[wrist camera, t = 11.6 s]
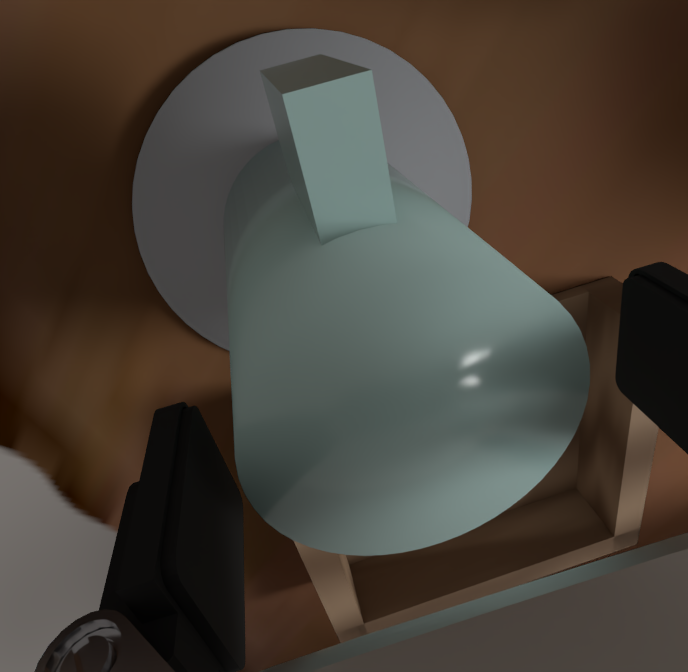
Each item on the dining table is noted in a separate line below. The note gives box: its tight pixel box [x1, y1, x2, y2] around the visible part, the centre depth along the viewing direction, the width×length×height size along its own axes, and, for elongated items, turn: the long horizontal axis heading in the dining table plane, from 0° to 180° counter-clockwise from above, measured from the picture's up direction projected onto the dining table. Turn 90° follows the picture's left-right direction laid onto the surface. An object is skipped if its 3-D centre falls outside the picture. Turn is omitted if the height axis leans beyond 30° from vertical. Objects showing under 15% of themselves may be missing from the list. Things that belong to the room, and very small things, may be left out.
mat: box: [132, 28, 472, 351], centre depth 18 cm, size 12×12×1 cm
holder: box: [293, 276, 659, 643], centre depth 25 cm, size 15×17×4 cm
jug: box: [224, 54, 590, 556], centre depth 13 cm, size 6×9×11 cm
